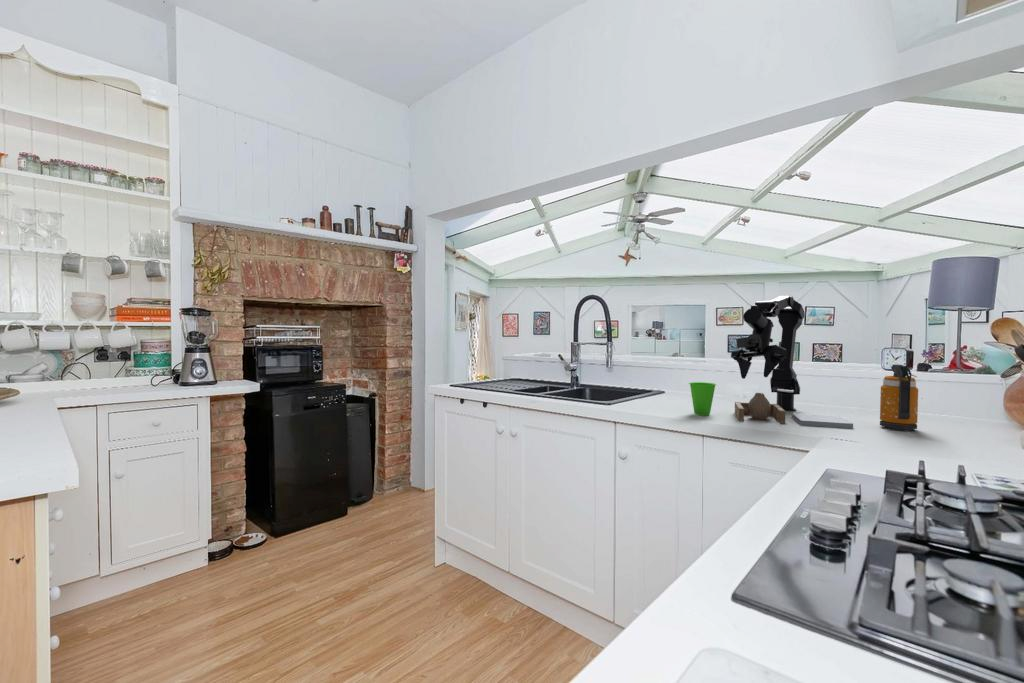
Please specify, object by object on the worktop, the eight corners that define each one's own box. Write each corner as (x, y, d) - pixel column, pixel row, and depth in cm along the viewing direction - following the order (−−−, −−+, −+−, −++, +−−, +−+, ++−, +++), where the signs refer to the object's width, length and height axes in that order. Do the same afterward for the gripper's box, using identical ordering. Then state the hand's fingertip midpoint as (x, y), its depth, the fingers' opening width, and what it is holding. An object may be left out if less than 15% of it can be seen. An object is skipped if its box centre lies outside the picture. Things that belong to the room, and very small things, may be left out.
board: (791, 417, 164) (791, 413, 164) (839, 420, 159) (839, 415, 159) (800, 425, 151) (800, 420, 151) (853, 428, 146) (853, 423, 146)
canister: (911, 427, 148) (913, 363, 148) (924, 434, 138) (926, 366, 138) (876, 424, 152) (877, 362, 152) (886, 431, 142) (888, 364, 141)
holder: (734, 412, 172) (734, 402, 172) (777, 415, 167) (777, 404, 167) (738, 420, 158) (739, 408, 158) (785, 423, 153) (785, 411, 153)
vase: (768, 417, 163) (769, 392, 163) (772, 421, 157) (773, 395, 157) (746, 416, 166) (746, 391, 165) (749, 420, 159) (749, 394, 159)
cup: (711, 412, 173) (711, 382, 173) (719, 416, 164) (719, 385, 164) (685, 411, 174) (686, 381, 174) (692, 416, 165) (693, 384, 165)
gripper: (723, 330, 170) (714, 371, 166) (766, 322, 152) (758, 368, 149) (746, 341, 173) (739, 381, 169) (792, 334, 155) (784, 379, 152)
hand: (753, 377), depth 160 cm, fingers open, 9 cm apart
